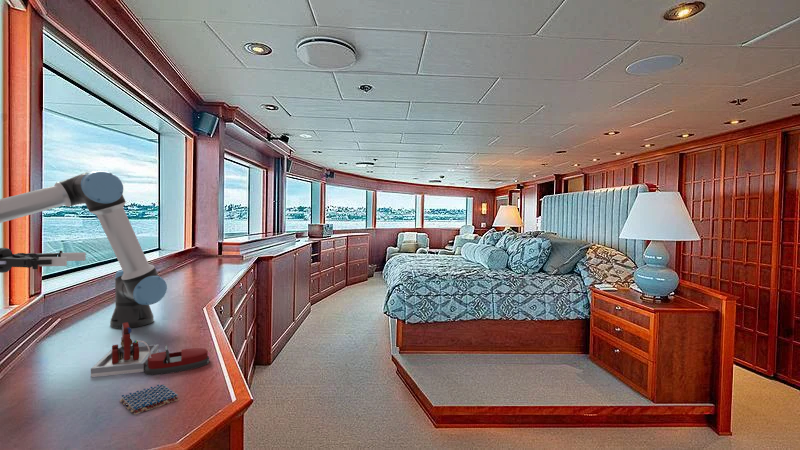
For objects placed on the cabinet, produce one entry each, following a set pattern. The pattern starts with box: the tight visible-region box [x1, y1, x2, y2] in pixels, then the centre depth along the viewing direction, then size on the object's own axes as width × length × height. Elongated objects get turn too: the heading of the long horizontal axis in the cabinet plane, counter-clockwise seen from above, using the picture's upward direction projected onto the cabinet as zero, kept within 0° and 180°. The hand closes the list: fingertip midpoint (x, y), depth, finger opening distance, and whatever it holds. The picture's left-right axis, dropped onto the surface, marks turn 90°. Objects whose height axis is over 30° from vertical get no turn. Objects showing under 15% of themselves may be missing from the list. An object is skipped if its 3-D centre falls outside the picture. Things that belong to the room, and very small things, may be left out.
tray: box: [90, 344, 160, 378], centre depth 123 cm, size 18×13×2 cm
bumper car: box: [133, 339, 210, 376], centre depth 121 cm, size 10×20×10 cm, turn 122°
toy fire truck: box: [111, 322, 140, 364], centre depth 124 cm, size 7×12×10 cm, turn 37°
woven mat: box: [119, 384, 180, 415], centre depth 99 cm, size 10×11×2 cm
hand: (76, 258), depth 126 cm, fingers open, 13 cm apart
